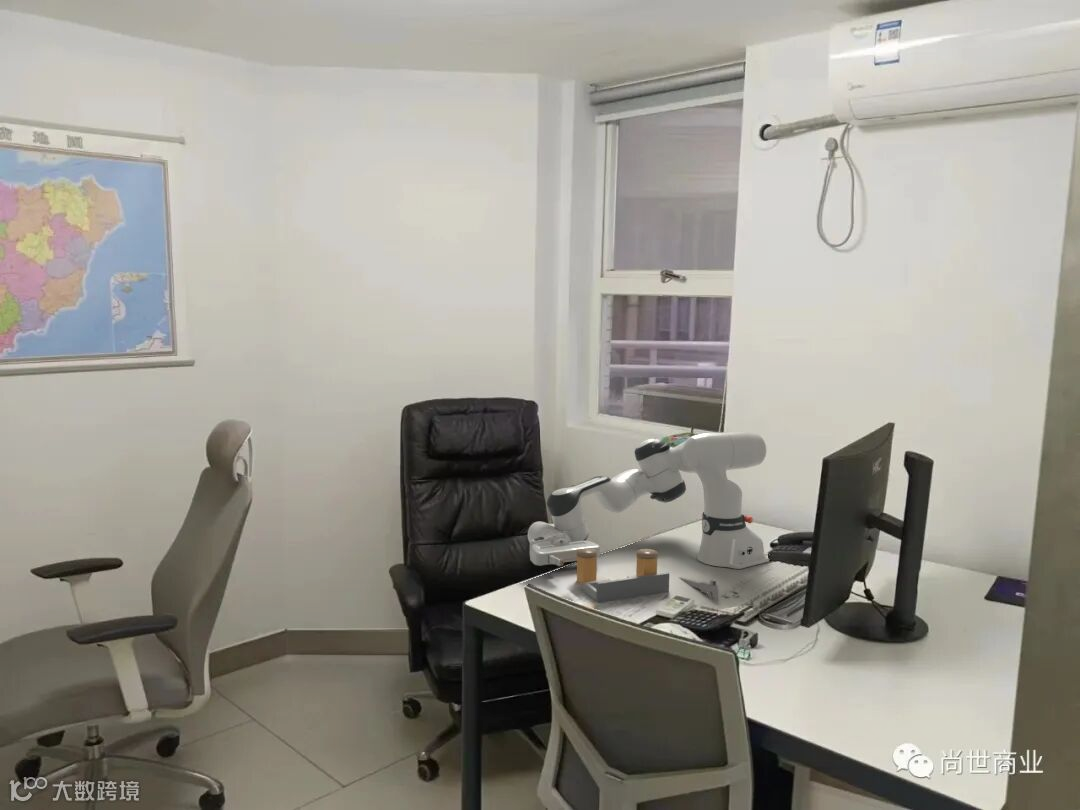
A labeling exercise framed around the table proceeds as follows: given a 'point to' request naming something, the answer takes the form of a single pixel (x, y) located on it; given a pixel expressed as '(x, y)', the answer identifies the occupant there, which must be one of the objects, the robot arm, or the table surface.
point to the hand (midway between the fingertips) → (576, 561)
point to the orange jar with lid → (646, 562)
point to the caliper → (704, 587)
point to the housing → (627, 587)
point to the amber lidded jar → (586, 565)
